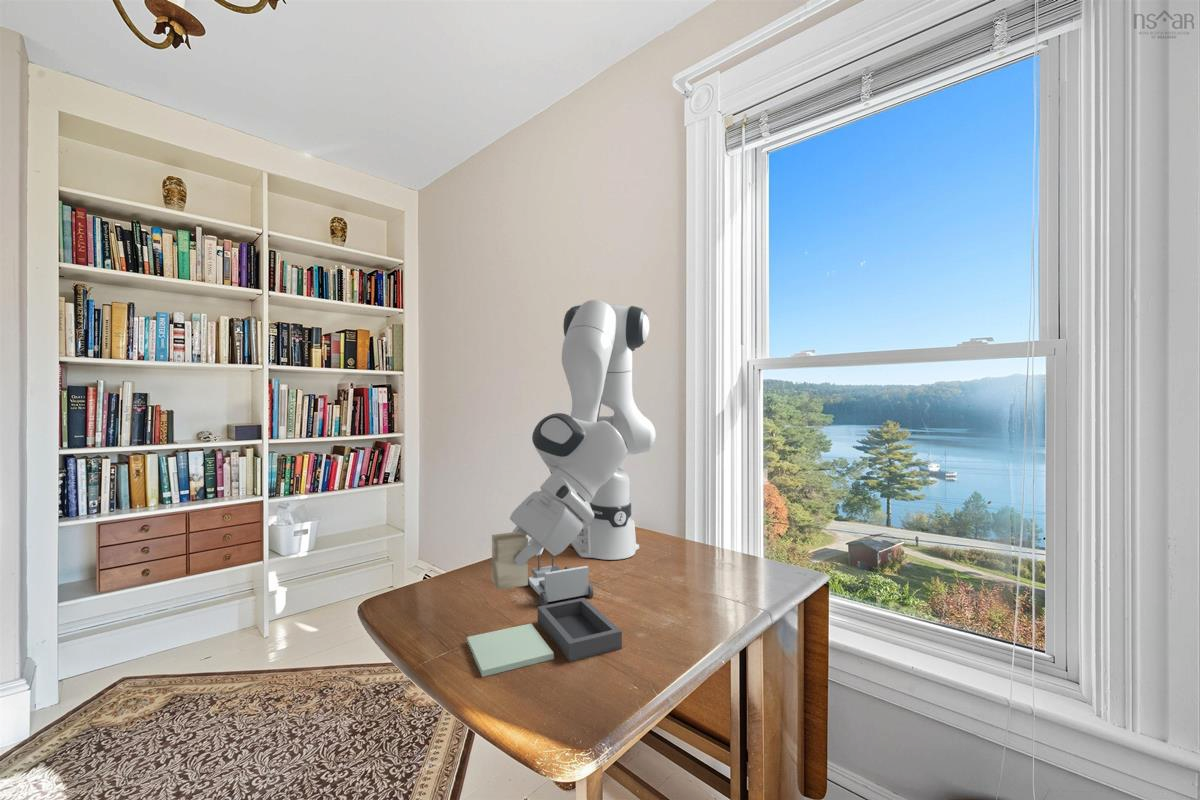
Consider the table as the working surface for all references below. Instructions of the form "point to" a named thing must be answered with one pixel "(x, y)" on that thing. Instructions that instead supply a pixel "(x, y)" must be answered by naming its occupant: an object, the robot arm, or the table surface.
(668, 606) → the table surface
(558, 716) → the table surface
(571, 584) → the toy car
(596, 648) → the tray
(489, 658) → the pad
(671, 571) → the table surface
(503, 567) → the birch block
